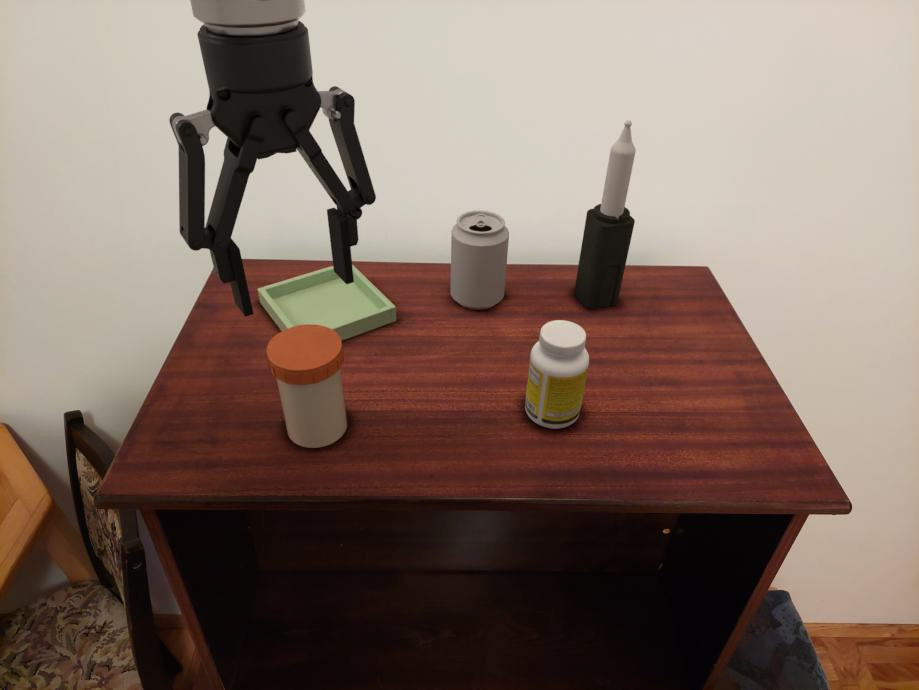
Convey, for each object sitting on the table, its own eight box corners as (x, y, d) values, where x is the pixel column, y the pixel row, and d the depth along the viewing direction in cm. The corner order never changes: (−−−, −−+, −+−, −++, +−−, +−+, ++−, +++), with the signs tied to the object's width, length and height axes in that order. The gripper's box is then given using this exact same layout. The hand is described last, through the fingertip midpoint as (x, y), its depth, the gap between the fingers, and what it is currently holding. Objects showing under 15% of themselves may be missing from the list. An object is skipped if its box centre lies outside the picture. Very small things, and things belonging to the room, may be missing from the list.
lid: (286, 395, 60) (283, 380, 59) (258, 354, 65) (255, 339, 64) (356, 368, 63) (354, 353, 62) (324, 330, 68) (323, 316, 67)
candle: (603, 286, 93) (636, 111, 77) (620, 305, 89) (659, 125, 74) (571, 291, 92) (598, 114, 76) (587, 311, 88) (620, 129, 72)
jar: (301, 457, 66) (286, 379, 60) (278, 420, 70) (261, 343, 64) (357, 432, 69) (349, 356, 63) (331, 398, 73) (321, 323, 67)
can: (449, 312, 87) (450, 232, 79) (451, 282, 93) (452, 205, 85) (504, 314, 87) (511, 235, 79) (503, 283, 93) (509, 207, 85)
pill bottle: (588, 406, 73) (604, 328, 66) (563, 439, 69) (577, 360, 62) (540, 385, 76) (551, 308, 69) (513, 415, 72) (522, 337, 65)
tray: (300, 355, 79) (297, 341, 78) (260, 302, 88) (257, 288, 86) (396, 320, 85) (395, 306, 84) (350, 274, 94) (348, 260, 92)
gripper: (94, 54, 38) (186, 353, 52) (413, 16, 47) (418, 276, 61) (71, 28, 42) (162, 308, 56) (365, -2, 52) (380, 243, 66)
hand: (295, 291), depth 59 cm, fingers open, 9 cm apart
